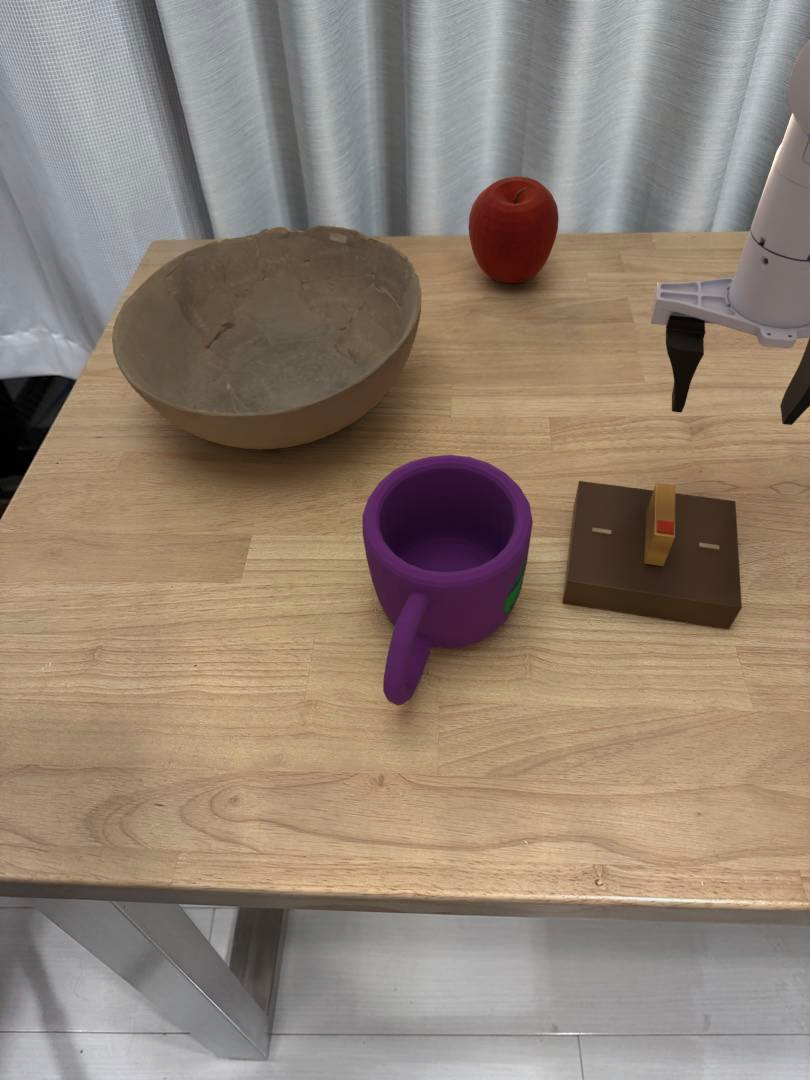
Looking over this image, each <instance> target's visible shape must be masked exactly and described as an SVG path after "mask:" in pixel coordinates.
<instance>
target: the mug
mask: <svg viewBox="0 0 810 1080" xmlns="http://www.w3.org/2000/svg"><path fill="white" fill-rule="evenodd" d="M532 531H533V515H532V510H531V505H530V501H529V500H528V498H527V497H526V495H525V493H524V491H523V489H522V488H521V486H520V484H518V483H517V482H516V481H514V480H513V478H511V476H509V475H508V474H507V473H506V472H505V471H503V470H502V469H500V468H498V467H496V466H495V465H493V464H491V463H490V462H487V461H483V460H481V459H478V458H475V457H471V456H465V455H457V454H456V455H455V454H442V455H430V456H426V457H422V458H419V459H416V460H415V459H414V460H412V461H409V462H407V463H405V464H403V465H401V466H398V467H397V468H395V469H393V470H392V471H391V472H390V473H388V474H387V475H386V476H385V477H384V478H382V479H381V480H380V481H379V482H378V484H377V485H376V486H375V488H374V489H373V490H372V492H371V493H370V495H369V496H368V498H367V501H366V504H365V506H364V510H363V513H362V539H363V546H364V551H365V558H366V562H367V567H368V570H369V575H370V579H371V582H372V586H373V589H374V591H375V594H376V596H377V599H378V601H379V604H380V606H381V609H382V611H383V613H384V614H385V616H386V617H387V618H388V620H389V621H390V622H391V624H392V625H393V626H394V629H393V632H392V634H391V639H390V641H389V646H388V653H387V656H386V662H385V666H384V674H383V685H382V691H383V694H384V696H385V698H386V700H387V701H388V702H389V703H391V704H393V705H395V706H403V705H405V704H406V703H407V702H409V701H410V700H412V698H413V696H414V694H415V692H416V690H417V689H418V686H419V684H420V682H421V678H422V676H423V674H424V671H425V668H426V665H427V662H428V660H429V657H430V653H431V650H432V648H436V649H444V650H445V649H458V648H464V647H469V646H471V645H474V644H477V643H480V642H482V641H483V640H485V639H487V638H488V637H490V636H491V635H493V634H494V633H496V632H497V631H498V630H499V629H500V628H501V627H502V626H503V625H504V624H505V622H507V621H508V619H509V617H510V615H511V613H512V611H513V609H514V607H515V604H516V602H517V600H518V598H519V596H520V593H521V592H522V591H521V590H522V587H523V582H524V579H525V575H526V568H527V564H528V557H529V550H530V544H531V537H532Z"/></svg>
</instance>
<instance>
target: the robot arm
mask: <svg viewBox="0 0 810 1080" xmlns="http://www.w3.org/2000/svg"><path fill="white" fill-rule="evenodd" d="M788 100H789V101H788V103H789V106H790V110H791V116H790V118H789V121H788V124H787V127H786V130H785V132H784V136H783V139H782V142H781V143H780V145H779V147H778V148H777V150H776V153H775V156H774V158H773V162H772V165H771V167H770V171H769V173H768V176H767V179H766V182H765V185H764V187H763V191H762V194H761V196H760V199H759V202H758V205H757V207H756V211H755V214H754V216H753V219H752V222H751V225H750V229H749V231H748V235H747V238H746V240H745V243H744V246H743V249H742V252H741V255H740V257H739V261H738V263H737V266H736V269H735V272H734V275H733V276H728V277H721V278H712V279H703V280H694V281H686V282H685V281H684V282H661V281H659V282H657V283H656V286H655V291H654V295H653V299H652V303H651V308H650V324H652V325H658V326H659V325H660V326H665V347H666V351H667V352H666V353H667V357H668V358H669V359H668V360H669V361H670V362H669V363H670V365H671V370H672V376H673V387H672V392H671V411H672V413H682V412H683V410H684V408H685V406H686V402H687V398H688V394H689V391H690V386H691V383H692V380H693V378H694V375H695V373H696V371H697V368H698V366H699V364H700V362H701V361H702V358H703V357H704V355H705V347H704V346H705V344H704V343H705V341H704V338H705V335H706V332H707V331H706V324H711V325H719V326H722V327H725V328H728V329H731V330H736V331H739V332H742V333H745V334H749V335H751V336H756V337H757V342H758V343H759V345H762V347H766V348H767V347H768V348H775V349H776V348H778V349H791V348H793V347H794V346H795V344H796V341H797V339H805V338H806V339H807V338H809V339H808V341H807V344H806V347H805V350H804V352H803V355H802V357H801V360H800V362H799V365H798V366H797V368H796V371H795V372H794V374H793V376H792V378H791V380H790V382H789V383H788V386H787V388H786V390H785V392H784V394H783V397H782V399H781V401H780V405H779V406H780V413H781V422H782V423H781V424H782V425H787V426H792V425H793V424H795V422H796V421H797V420H798V419H799V418H800V417H801V416H802V414H804V413H805V412H806V410H808V408H810V38H809V39H808V41H806V43H805V44H804V45H803V47H802V49H801V50H800V52H799V54H798V56H797V57H796V59H795V61H794V63H793V66H792V69H791V72H790V76H789V82H788Z"/></svg>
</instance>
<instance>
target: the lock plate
mask: <svg viewBox="0 0 810 1080" xmlns="http://www.w3.org/2000/svg"><path fill="white" fill-rule="evenodd" d="M653 491H654V489H647V488H646V489H645V488H639V487H631V486H625V485H624V486H623V485H615V484H607V483H599V482H593V481H585V480H578V482H577V487H576V492H575V498H574V503H573V509H572V519H571V527H570V536H569V545H568V551H567V552H568V553H567V561H566V570H565V578H564V587H563V596H562V604H566V605H573V606H579V607H585V608H592V609H597V610H604V611H610V612H617V613H622V614H630V615H635V616H642V617H647V618H653V619H660V620H667V621H672V622H673V621H674V622H679V623H684V624H692V625H697V626H704V627H711V628H716V629H722V630H730V629H731V627H732V625H733V624H734V622H735V620H736V618H737V617H738V615H739V613H740V612H741V610H742V608H743V607H742V589H741V586H742V585H741V572H740V571H741V570H740V555H739V538H738V537H739V536H738V522H737V521H738V520H737V503H736V500H730V499H723V498H717V497H716V498H715V497H707V496H701V495H693V494H684V493H678V492H675V539H674V541H673V544H672V546H671V549H670V551H669V554H668V556H667V559H666V561H665V564H664V566H657V565H650V564H645V563H644V554H645V530H646V512H647V509H648V506H649V503H650V500H651V497H652V494H653Z"/></svg>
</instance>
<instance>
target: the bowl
mask: <svg viewBox="0 0 810 1080" xmlns="http://www.w3.org/2000/svg"><path fill="white" fill-rule="evenodd" d="M421 313H422V290H421V283H420V278H419V275H418V274H417V272H416V269H415V267H414V265H413V263H412V262H411V260H409V258H408V256H407V255H405V254H404V253H403V252H401V251H400V249H398V248H396V247H395V246H394V245H393V244H391V243H388V242H384V241H383V242H382V241H379V239H377V238H375V237H373V236H367V235H366V234H365V233H363V232H362V231H359V230H357V229H351V228H347V227H344V226H343V227H341V226H333V225H324V224H316V225H313V226H310V227H308V228H307V229H306V230H292V231H290V230H289V229H288V228H287V227H283V226H280V225H279V226H275V227H272V228H270V229H269V228H264V229H261V230H260V231H258V232H257V233H252V234H250V235H246V236H241V237H234V238H230V239H229V238H225V239H222V240H215V241H212V242H209V243H206V244H202V245H199V246H197V247H194V248H191V249H190V250H188V251H185V252H184V253H181V254H180V255H178V256H176V257H174V258H172V259H171V260H169V261H167V262H166V263H164V264H163V265H162V266H161V267H159V268H158V269H157V270H155V271H154V272H153V273H152V274H150V275H149V277H147V278H146V279H145V280H144V281H143V282H142V283H141V284H140V285H139V286H138V288H137V289H135V291H133V293H132V294H131V295H129V297H127V298H126V300H125V301H124V303H123V304H122V306H121V308H120V310H119V312H118V313H117V316H116V318H115V321H114V324H113V328H112V336H111V344H112V352H113V357H114V358H115V361H116V364H117V367H118V368H119V371H120V372H121V374H122V376H123V377H124V378H125V380H126V381H127V382H128V384H129V385H130V386H131V388H132V389H133V390H134V391H135V392H136V393H137V394H138V395H139V396H140V397H141V398H142V399H143V400H144V401H145V402H146V403H147V404H148V405H150V406H151V407H152V408H153V409H154V410H155V411H156V412H157V413H158V414H160V415H161V416H162V417H163V418H165V419H166V420H168V421H169V422H171V423H172V424H173V425H175V426H176V427H178V428H179V429H181V430H184V431H186V432H187V433H190V434H192V435H194V436H196V437H197V438H200V439H203V440H205V441H208V442H212V443H215V444H219V445H223V446H226V447H231V448H240V449H246V450H273V449H287V448H291V447H297V446H301V445H306V444H310V443H312V442H315V441H318V440H321V439H323V438H326V437H328V436H331V435H333V434H335V433H337V432H339V431H341V430H342V429H344V428H346V427H348V426H350V425H352V424H354V423H356V422H357V421H358V420H359V419H361V418H363V417H364V416H366V414H368V413H369V412H370V411H371V410H372V409H373V408H374V407H375V406H377V405H378V403H379V402H381V400H382V399H383V398H384V397H385V395H386V394H387V393H388V392H389V391H390V389H391V388H392V386H394V384H395V383H396V381H397V379H398V378H399V376H400V375H401V373H402V371H403V369H404V367H405V365H406V363H407V361H408V360H409V359H408V358H409V356H410V354H411V351H412V350H413V349H412V348H413V346H414V342H415V340H416V335H417V332H418V329H419V324H420V320H421V319H420V318H421Z"/></svg>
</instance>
